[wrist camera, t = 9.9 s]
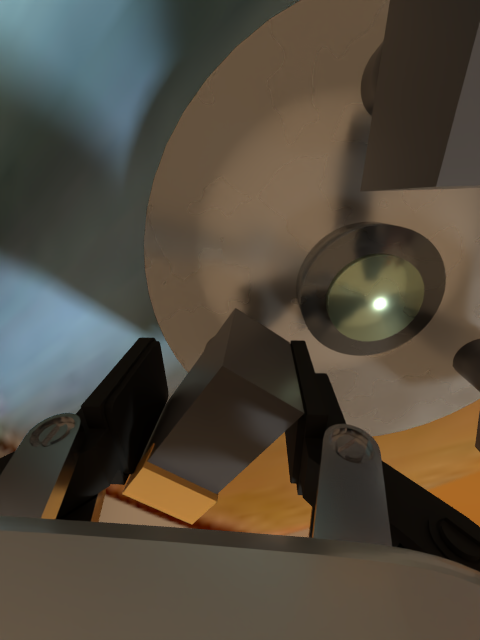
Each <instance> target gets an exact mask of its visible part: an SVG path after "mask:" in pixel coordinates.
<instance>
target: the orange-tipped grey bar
mask: <svg viewBox="0 0 480 640" xmlns="http://www.w3.org/2000/svg"><path fill="white" fill-rule="evenodd" d="M361 99H362V102H363V105H364V107H365V109H366V111H367V112H368V113H369V114H370V115H371V116H372V119H371V125H370V132H369V138H368V144H367V151H366V157H365V164H364V170H363V177H362V183H361V190H360V191H397V190H434V189H462V188H480V0H390V3H389V9H388V16H387V22H386V29H385V35H384V40H383V42H382V43H381V44H380V46H379V47H378V48H377V49H376V51H375V52H374V53H373V54H372V56H371V57H370V59H369V61H368V63H367V65H366V67H365V69H364V72H363V75H362V80H361Z"/></svg>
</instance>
